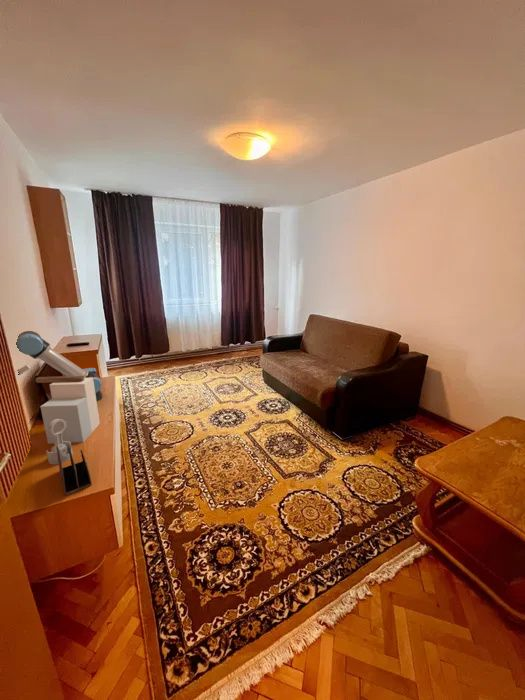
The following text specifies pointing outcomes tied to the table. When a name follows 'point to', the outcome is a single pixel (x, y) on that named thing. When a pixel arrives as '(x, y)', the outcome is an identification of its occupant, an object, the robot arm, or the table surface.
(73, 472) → the letter holder
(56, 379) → the walnut axle bar
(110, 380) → the table surface
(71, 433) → the stepped parts shelf
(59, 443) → the engine component
